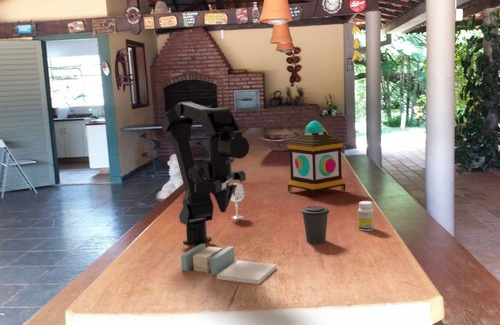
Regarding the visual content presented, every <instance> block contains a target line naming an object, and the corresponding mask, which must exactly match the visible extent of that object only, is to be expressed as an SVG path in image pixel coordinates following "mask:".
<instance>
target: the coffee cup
mask: <svg viewBox="0 0 500 325" xmlns="http://www.w3.org/2000/svg"><path fill="white" fill-rule="evenodd" d="M300 213H301V214H302V217H303V225H304V231H305V238H306V242H307V243H308V244H312V245H319V244H324V243H325V242H326V240H327V239H326V238H327V225H328V214H329V213H330V210H329V209H328V208H327V207H323V206H317V205H316V206H314V205H313V206H306V207H305V208H302V209H301V211H300Z"/></svg>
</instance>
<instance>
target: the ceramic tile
mask: <svg viewBox="0 0 500 325" xmlns="http://www.w3.org/2000/svg"><path fill="white" fill-rule="evenodd" d="M277 269H278V268H277V264H276V263H275V264H274V263H266V262H265V263H264V262H256V261H247V260H237V259H236V260H235V262H233V263H232V264H231V265H229V266H228V267H226V268H225V269H224V270H222V271H221V272H220V273H218V274H217V275H216V279H217V280H222V281H223V280H224V281H231V282H240V283H244V284H245V283H246V284H247V283H248V284H254V285H259V284H261V283H262V282H263V281H265V279H266V278H267V277H268V276H270V275H271V274H272V273H273V272H274V271H276V270H277Z"/></svg>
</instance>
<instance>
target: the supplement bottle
mask: <svg viewBox="0 0 500 325" xmlns="http://www.w3.org/2000/svg"><path fill="white" fill-rule="evenodd" d="M358 207H359V208H358V209H357V214H358V216H357V223H358V229H359V231H363V232H370V231H373V230H374V229H375V210H374V208H373V202H372V201H368V200H362V201H359V202H358Z"/></svg>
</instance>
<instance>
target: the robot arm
mask: <svg viewBox="0 0 500 325" xmlns="http://www.w3.org/2000/svg"><path fill="white" fill-rule="evenodd" d="M195 121H197V122H198V123H201V127H202V128H204V130H206V131H207V133H205V134H204V138H206V139H207V140H208V141H207V144H208V156H209V157H208V158H209V159H206V160H205V165H204V166H200V167H199V166H197V165H196V161H195V157H194V154H193V151H192V147H191V143H190V141H191V140H190V139H191V137H192V133H193V130H192V128H193V125H194V124H195ZM239 127H240V126H239V125H238V123H237V122H236V119H235V116H234V115H233V113H232V112H231V109H230V108H228V107H216V108H215V107H213V108H211V107H207V106H204V105H201V104H197V103H194V102H192V101H181V102H178V103H176V104H175V106H174V108H173V109H171V110H169V111H168V112H167V113H166V114H165V115H164V118H163V120H162V121H161V129H162V131H163V133H164V136H165V138H166V140H167V141H168V142H169V143H170V144H171V146H173V148H174V149H173V150H174V152H175V156H176V160H177V164H178V167H179V168H178V169H179V173H180V176H181V180H182V184H183V186H184V187H183V188H184V191H185V192H184V195H183V198H182V208H181V210H180V212H179V215H178V218H179V223H180V224H183V225H185V226H186V231H185V232H186V239H185V240H183V241H182V243H183V244H188V245H189V244H190V245H196V246H198V245H199V244H206V243H207V242H209V241H211V240H212V237H211V236H208V232H207V222H208V221H212V220H213V217H214V216H213V215H214V208H215V207H214V202H213V200H212V198H211V194H212V195H213V197H214V199H215V201H216V204H217V206H218V209H219V211H220V213H226V211H227V209H228V206H229V204H230V201H231V200H230V199H231V197H232V194H233V192H234V190H235V188H236V187H237V185H232V183H233V182H232V181H239V183H243V182H245V181H246V180H247V178H246V176H247V174H246V173H245V171H244V170H240V169H239V170H237V169H232V163H234V161H235V160H234V159H243V158H245V157H246V156H247V155H248V153H249V150H250V143H249V141H248V140H247V138H246V137H245V136H243V134H242V131H240V128H239Z"/></svg>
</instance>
